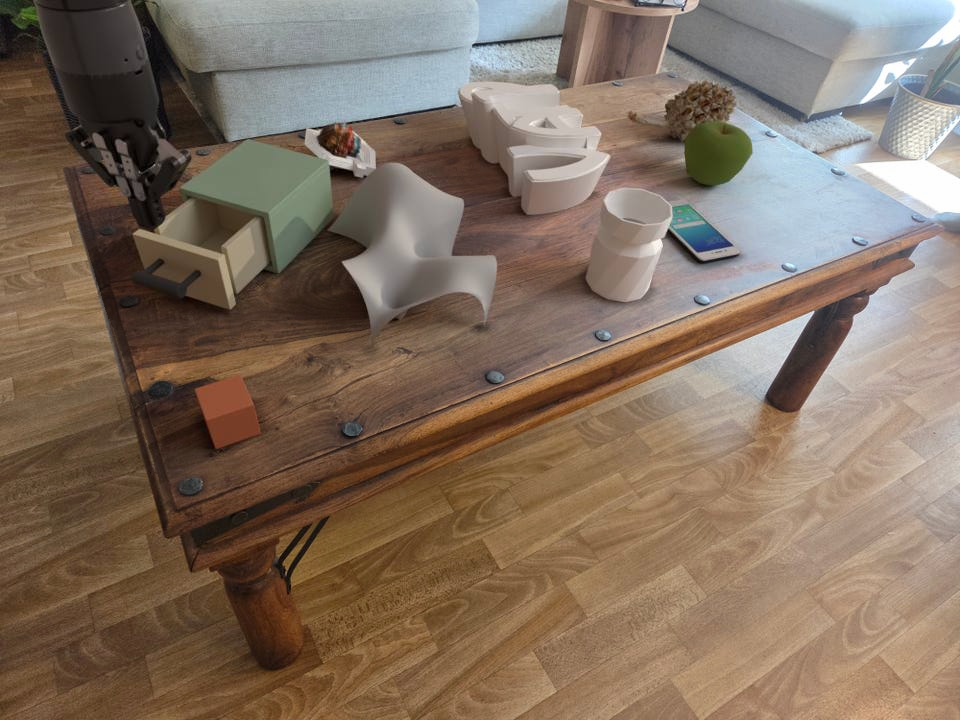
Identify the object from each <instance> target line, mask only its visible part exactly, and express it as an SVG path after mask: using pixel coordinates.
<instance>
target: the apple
mask: <svg viewBox="0 0 960 720" xmlns="http://www.w3.org/2000/svg"><path fill="white" fill-rule="evenodd" d="M683 153H684V162H685V163H684V164H685V170H686V173H687V174H688V175H689V176H690V177H691V178H692V179H693V180H694V181H695V182H697V183H699V184H701V185H704V186H709V187H711V186H712V187H713V186H720V185H725V184H726V183H727V184H728V183H729V182H730V181H731V180H732V179H734V178H735V177H736V176H737V175H738V174H739V173H740V172H741V171H742V170H743V168H744V167H745V166H746V164H747V162H748V161H749V159H750V158H751V156H752V155H753V153H754V152H753V142H752V140H751V137H750V136H749V135H748V134H747V132H745V130H743V129H742V128H740V127H738V126H737V125H736V126H735V125H733V124H730V123H728V122H726V123H725V122H719V121H710V122H706V123H703V124H700V125H697V126H695V127H694V128H693V129H692V130H691V131H690V132H689V134H688V135H687V137H686V138H685V140H684V151H683Z"/></svg>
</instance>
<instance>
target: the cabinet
mask: <svg viewBox="0 0 960 720" xmlns="http://www.w3.org/2000/svg"><path fill="white" fill-rule="evenodd" d="M179 192H180V196H181V199H182V204H183V203H185V202H186V201H187V200H189V199H190V198H191V197H196V198H199V199H202V200H206V201H209V202H213V203H216V204H220V205H223V206H227V207H230V208H234V209H237V210H241V211H244V212H248V213H251V214H255V215H258V216H262V217H264V221H265V227H266V232H267V238H268V244H269V249H270V255H271V262H270V263H269V264H268V265H267V266H266V267H265V268H263V269H262V270H265V271H268V272H272V273H273V274H274V273H275V274H278V275H280V273H281V272H282V271H283V270H284V269H286V268H287V266H288V265H290V263H291V262H292V261H293V260H294V259H295V258H296V257H297V256H299V254H301V252H302V251H303V250H304V249H306V247H307V246H308V245H309V244H310V243H311V242H312V241H313V240H314V239H315V238H316V237H317V236H318V235H319V234H320V233H321V232H322V230H324V229H325V228H326V227H327V226H328V225H329V223H331V222H332V221H333V220H334V218H335V216H334V215H335V214H334V205H333V194H332V193H333V192H332V180H331V171H330V169H329V160H325V159H321V158H318V157H317V156H315V155H309V154H306V153H302V152H299V151H295V150H291V149H287V148H283V147H280V146H276V145H273V144H268V143H265V142H260V141H257V140H253V139H249V138H247V139H246V140H244V141H243V142H241V143H240V144H239V145H237V146H236V147H233V148H232V149H231V150H230V151H228V152H227V153H225V154H224V155H223V156H222V157H220V158H219V159H217V160H216V161H215V162H213V163H212V164H210V165H209V166H207V167H206V168H205V169H203V170H202V171H201V172H199V173H198V174H196V175H195V176H193V177H192V178H190V179H189V180H188V181H186V182H184V184H182V185H181V186H180V187H179Z"/></svg>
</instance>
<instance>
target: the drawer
mask: <svg viewBox="0 0 960 720" xmlns="http://www.w3.org/2000/svg"><path fill="white" fill-rule="evenodd" d="M153 231H154V232H150V231H148V230H145V229H141V228H138V229H137V230H135V231H134V232H133V233H132V235H131V236H132V238H133V240H134V243H135V246H136V249H137V252H138V255H139V257H140V261H141V264H142V266H143V270H140V269H137V270H135V271H133V273H132V275H131V282H132V283H133V284H135V285H138V286H140V287H144V288H147V289H150V290H153V291H156V292H159V293H162V294H165V295H169V296H171V297H175V298H178V299H183V298H185V296H186V297H189V298H192V299H194V300H198V301H201V302H204V303H208V304H211V305H213V306H217V307H220V308H223V309H226V310H232V309H233V308H234V307H235V306H236V305H237V303H236V298H235V295H238V294H239V293H240V292H241V291H242V290H243V289H244V288H245V287H246V286H247V285H248V284H249V283H250V282H252V280H254V279H255V278H256V276H258V275H259V273H261V271H263V270H264V269H263V268H265V267H266V266H267V265H268V264H269V263H270V262H271V255H270V249H269V244H268V238H267V232H266V227H265V221H264V217H262V216H258V215H255V214H251V213H248V212H244V211H241V210H237V209H234V208H230V207H227V206H223V205H220V204H216V203H213V202H209V201H206V200H202V199H199V198H196V197H191V198H190V199H189V200H187V201H186V202H185V203H183V202H182V204H180V205H179V206H178V207H176V208H175V209H174V210H172V211H171V212H169V214H167V215H165V220H164V222H163V223H162V224H161V225H160V226H159V227H157V228H156V229H155V230H153Z"/></svg>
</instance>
